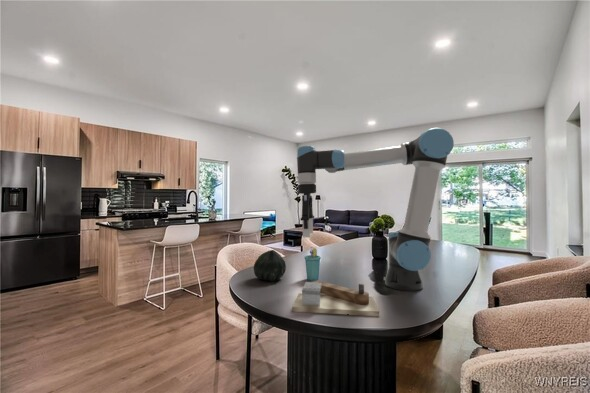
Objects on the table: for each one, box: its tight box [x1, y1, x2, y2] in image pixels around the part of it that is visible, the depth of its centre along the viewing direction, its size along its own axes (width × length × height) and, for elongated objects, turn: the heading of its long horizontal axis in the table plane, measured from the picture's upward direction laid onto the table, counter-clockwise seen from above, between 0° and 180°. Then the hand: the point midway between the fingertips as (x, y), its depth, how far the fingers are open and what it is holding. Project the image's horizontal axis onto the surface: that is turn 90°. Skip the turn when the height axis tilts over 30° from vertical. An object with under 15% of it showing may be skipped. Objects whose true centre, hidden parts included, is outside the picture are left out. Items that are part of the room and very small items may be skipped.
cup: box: [304, 247, 322, 282], centre depth 131 cm, size 14×8×15 cm, turn 171°
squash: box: [253, 249, 287, 282], centre depth 131 cm, size 14×15×15 cm
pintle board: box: [292, 292, 380, 317], centre depth 97 cm, size 28×14×2 cm, turn 81°
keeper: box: [301, 281, 322, 306], centre depth 98 cm, size 6×10×5 cm, turn 171°
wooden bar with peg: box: [312, 279, 370, 305], centre depth 102 cm, size 24×5×6 cm, turn 46°
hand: (308, 235), depth 114 cm, fingers open, 13 cm apart
